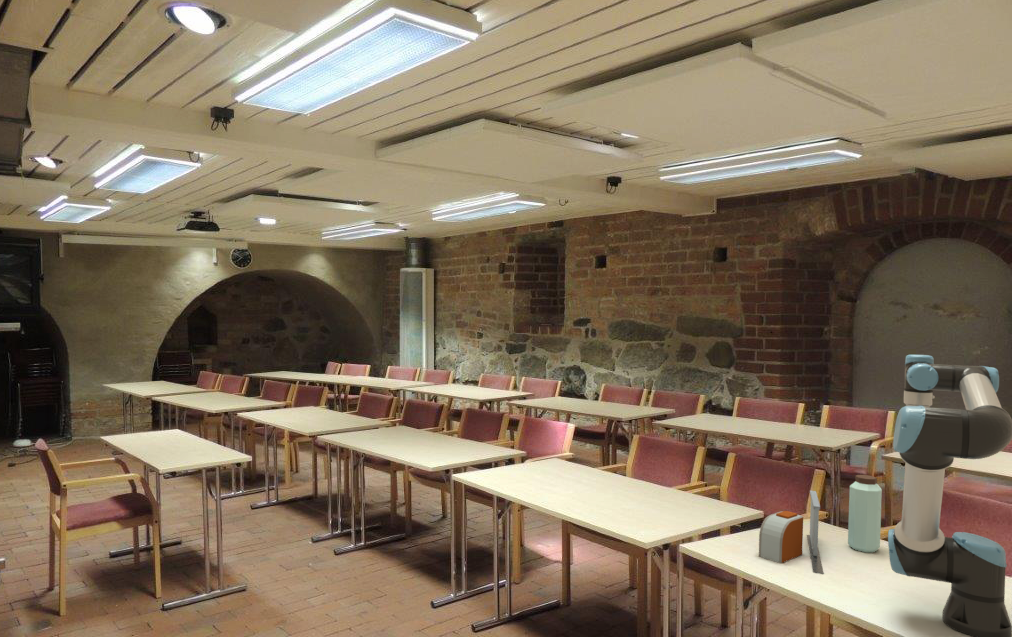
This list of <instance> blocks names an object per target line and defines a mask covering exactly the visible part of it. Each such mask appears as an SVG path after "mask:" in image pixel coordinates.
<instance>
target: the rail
mask: <svg viewBox="0 0 1012 637" xmlns="http://www.w3.org/2000/svg"><path fill="white" fill-rule="evenodd" d="M806 540H807V547H808V551H809V552H808V553H809V555H810V556H809V557H810V562H811V568H812V573H815V574H822V575H823V574H825V573H824V569H823V563H822V559H821V558H822V557H821V555H820V550H819V548H818V552H817V556H813V551H812V546H811V540H810V534H806Z"/></svg>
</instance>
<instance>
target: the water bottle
mask: <svg viewBox="0 0 1012 637" xmlns="http://www.w3.org/2000/svg"><path fill="white" fill-rule="evenodd" d="M854 479H855V481H853V483H851V484H850V485H849V496H848V497H849V498H848V500H849V502H848V525H847V527H848V528H847V530H848V532H847V544H848V545H849V547H850V548H851V547H852V549H853V550H854V549H855V550H854V551H857V550H858V552H861V551H862V552H861V553H873V552H874V553H876V552H877V551H878V550H879V549H880V548H881V531H882V530H881V528H882V526H881V522H882V499H883V498H882V495H883V494H882V493H883V489H882V488H881V486H879V484H878V479H877V477H875V476H873V475H867V474H857V475H855V478H854ZM875 551H876V552H875Z"/></svg>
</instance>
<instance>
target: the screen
mask: <svg viewBox="0 0 1012 637" xmlns="http://www.w3.org/2000/svg"><path fill="white" fill-rule="evenodd" d="M809 494H810V512H809V513H810V515H809V516H810V518H809V535H810V540H811V546H812V551H813V556H817V552H818V549H819V543H818V542H819V519H820V518H819V516H820V514H819V512H820V510H821V504H820V501H819V500H820V499H819V497H818V493H817V491H816V490H809Z"/></svg>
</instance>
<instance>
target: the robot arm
mask: <svg viewBox="0 0 1012 637" xmlns="http://www.w3.org/2000/svg"><path fill="white" fill-rule="evenodd" d="M934 361H935V359H934V357H933V356H932V355H928V354H908V355H905V361H904V362H905V363H904V388H903V389H904V390H903V403H904V404H905V405H903V406H902V407H901V408H900V409H899V411H898V414H897V417H896V419H895V426H894V433H893V443H892V444H893V450H894V451H895V452H897V453H899V456H900V458H901V460H902V461H903V462H904V463H905V466H904V467H905V468H904V480H903V493H902V494H903V495H902V496H903V497H902V509H901V510H902V511H901V520H900V521H899V522H898V523H897V524H896V525H895V527H894V528H890V529H888V533H887V540H888V541H887V542H888V543H887V544H888V552H889V553H888V554H889V556H888V557H889V564H890V567H891V570H892V571H893V572H894V573H896V574H898V575H903V576H906V577H909V578H910V577H913V578H918V579H924V580H931V581H937V582H943V583H948V584H951V585H950V586H951V587H950V593H949V596H948V598H947V600H946V602H945V605H944V606H943V609H942V617H941V620H942V621H943V622H944V624H946V626H948V627H950V628H951V629H953V630H955V631H958V633H959V632H960V633H963V634H965V635H968V636H972V637H1012V622H1011V619H1010V616H1009V613H1008V610H1007V607H1006V606H1007V605H1006V604H1005V603H1006V602H1005V596H1006V595H1005V593H1006V568H1007V566H1008V564H1007V557H1006V556H1007V554H1006V553H1007V552H1006V550H1005V549H1004V547H1003V546H1002V545H1001V544H1000V543H998V542H997V541H995V540H992V539H990V538H987V537H985V536H982V535H978V534H975V533H970V532H965V531H962V532H961V531H956V532H953V534H952V536H951V537H949V536H948V537H947V536H945V534H944V532H943V531H942V530H941V528H940V524H941V523H940V521H941V514H942V513H941V510H942V504H943V503H942V502H943V495H944V494H943V492H944V483H945V482H944V481H945V474H946V469H948V468H949V467H951V466H952V465H953V463H954V460H955V459H965V460H981V459H985V458H989V457H992V456H994V455H997V454H998V453H1000V452H1001V451H1003V450H1004V449H1006V448H1007V446H1008V445H1009V444H1010V443H1011V441H1012V417H1011V415H1010V413H1009V412H1007V411H1006V410H1005V409H1004V408H1002V405H1001V402H1000V400H999V397H998V396H997V393H998V391H999V387H1000V376H999V370H998V369H997V368H996V367H991V366H990V367H989V366H985V365H979V366H978V365H962V364H961V365H959V364H958V365H956V364H937V363H934ZM933 391H940V392H941V391H944V392H955V393H956V392H958V393H961V397H962V400H963V404H964V406H965V407H964V408H965V409H959V408H948V407H947V408H945V407H931V406H933V399H935V398H936V397H935V395H933V393H934V392H933Z"/></svg>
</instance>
